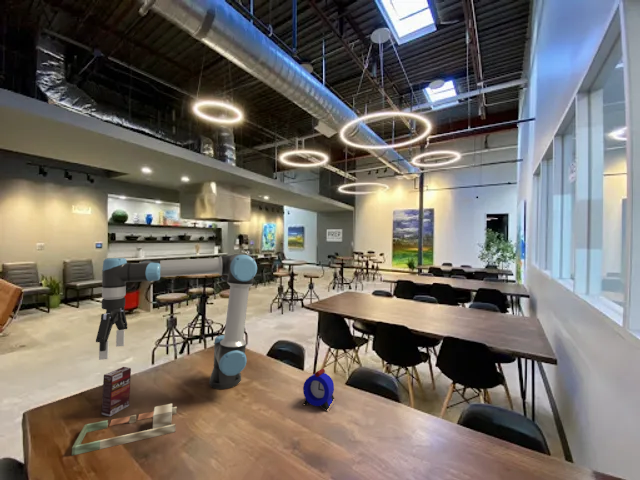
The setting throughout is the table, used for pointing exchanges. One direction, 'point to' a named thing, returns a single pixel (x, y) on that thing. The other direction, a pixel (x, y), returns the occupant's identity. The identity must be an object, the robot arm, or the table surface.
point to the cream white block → (162, 416)
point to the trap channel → (119, 439)
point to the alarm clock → (319, 390)
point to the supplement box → (116, 391)
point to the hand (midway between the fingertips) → (112, 352)
